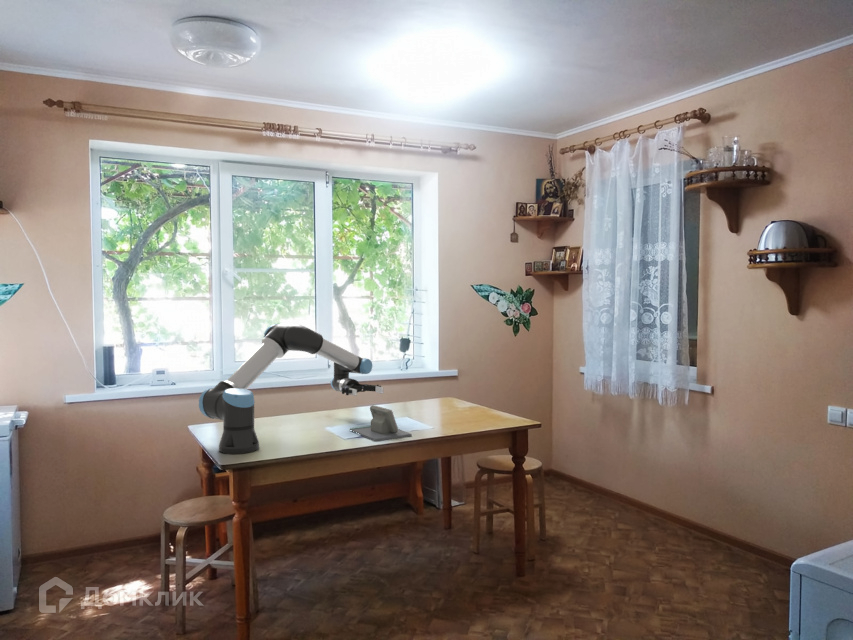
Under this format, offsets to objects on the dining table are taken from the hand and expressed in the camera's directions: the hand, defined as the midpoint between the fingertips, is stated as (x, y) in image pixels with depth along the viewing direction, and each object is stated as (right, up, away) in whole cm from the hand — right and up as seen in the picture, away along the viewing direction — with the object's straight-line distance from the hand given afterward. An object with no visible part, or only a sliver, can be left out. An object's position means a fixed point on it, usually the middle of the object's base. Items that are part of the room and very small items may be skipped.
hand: (369, 391), depth 273 cm
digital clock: (+7, -17, -8) cm, 20 cm away
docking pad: (+5, -17, -9) cm, 20 cm away
